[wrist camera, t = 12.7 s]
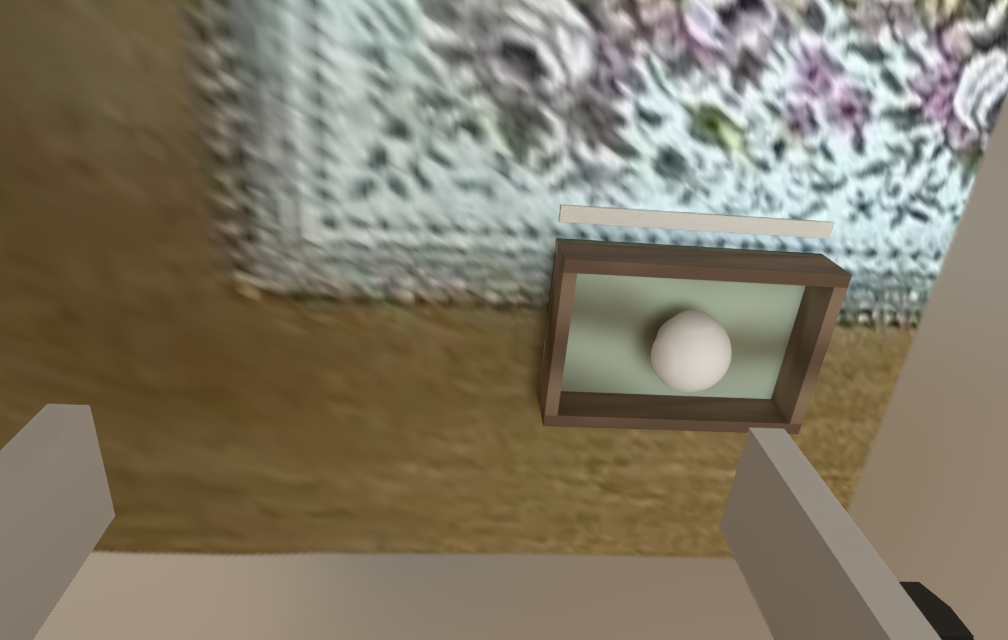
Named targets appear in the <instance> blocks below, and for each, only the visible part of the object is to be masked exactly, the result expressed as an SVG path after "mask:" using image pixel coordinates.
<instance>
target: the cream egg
mask: <svg viewBox="0 0 1008 640" xmlns="http://www.w3.org/2000/svg"><path fill="white" fill-rule="evenodd" d="M731 356H732V348H731V343H730V339H729V337H728V335H727V333H726V331H725V330H724V328H723V327H722V326H721V325H720V324H719V323H718V322H717V321H716V320H715V319H713V318H712V317H710V316H709V315H707V314H705V313H703V312H700V311H696V310H688V311H684V312H681V313H679V314H677V315H676V316H675V317H673V318H671V319H669V320H668V321H666V322H665V323H664V324H663V325H662V326H661V327H660V329H659V331H658V333H657V337H656V339H655V341H654V343H653V346H652V350H651V364H652V367H653V369H654V371H655V373H656V374H657V376H658V377H659V378H660V380H661V381H662V382H663V383H664V384H666V385H667V386H669V387H670V388H672V389H675V390H678V391H681V392H697V391H701V390H705V389H707V388H709V387H711V386H713V385H714V384H716V383H717V382H718V381H719V380H720V379H721V378H722V377H723V376H724V375H725V373H726V371H727V370H728V367H729V365H730V362H731Z"/></svg>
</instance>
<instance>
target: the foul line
mask: <svg viewBox="0 0 1008 640" xmlns="http://www.w3.org/2000/svg"><path fill="white" fill-rule="evenodd" d="M559 222H566V223H582V224H599V225H615V226H631V227H648V228H664V229H681V230H697V231H713V232H730V233H746V234H762V235H779V236H795V237H812V238H828V239H829V238H830V235H831V231H832V228H833V225H834V223H833V222H828V221H813V220H797V219H781V218H765V217H750V216H734V215H718V214H702V213H686V212H671V211H655V210H639V209H623V208H608V207H592V206H576V205H561V208H560V216H559Z"/></svg>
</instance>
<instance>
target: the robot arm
mask: <svg viewBox="0 0 1008 640" xmlns="http://www.w3.org/2000/svg"><path fill="white" fill-rule="evenodd" d="M114 516H115V513H114V508H113V504H112V500H111V495H110V491H109V487H108V482H107V478H106V474H105V469H104V465H103V461H102V456H101V452H100V448H99V443H98V439H97V434H96V430H95V426H94V421H93V417H92V413H91V408H90V405H70V404H47V405H46V406H45V407H44V408H43V409H42V410H41V411H40V412H39V413H38V414H37V415H36V416H35V417H34V418H33V419H32V420H31V421H30V422H29V423H28V424H27V425H26V426H25V427H24V428H23V429H22V430H21V431H20V432H19V433H18V434H17V435H16V436H15V437H13V438H12V439H11V440H10V441H9V442H8V443H7V444H6V445H5V446H4V447H3V448H2V449H1V450H0V640H33V639H34V637H35V636H36V634H37V633H38V631H39V630H40V628H41V627H42V625H43V624H44V622H45V621H46V619H47V618H48V616H49V615H50V613H51V612H52V610H53V609H54V607H55V605H56V604H57V603H58V601H59V600H60V598H61V596H62V595H63V593H64V592H65V591H66V589H67V587H68V586H69V584H70V583H71V581H72V580H73V578H74V577H75V575H76V574H77V572H78V571H79V569H80V568H81V566H82V565H83V563H84V562H85V560H86V559H87V557H88V556H89V554H90V553H91V551H92V550H93V548H94V547H95V545H96V544H97V542H98V541H99V539H100V538H101V536H102V535H103V533H104V532H105V530H106V529H107V527H108V526H109V524H110V523H111V521H112V520H113V518H114ZM720 529H721V531H722V533H723V535H724V537H725V539H726V541H727V544H728V546H729V548H730V550H731V552H732V554H733V556H734V558H735V560H736V562H737V564H738V566H739V568H740V570H741V572H742V574H743V576H744V578H745V581H746V582H747V585H748V586H749V589H750V591H751V593H752V595H753V597H754V599H755V601H756V603H757V605H758V607H759V609H760V611H761V613H762V615H763V618H764V619H765V622H766V624H767V626H768V628H769V630H770V632H771V634H772V636H773V638H774V640H974V639H973V637H974V636H973V635H972V634H971V632H970V631H969V630H968V629H967V628H966V626H965V625H964V624H963V622H962V621H961V620H960V619H959V618H958V616H957V615H956V614H955V612H954V611H953V610H952V609H951V607H949V606H948V605H947V604H946V603H944V602H943V601H942V600H940V598H938V597H937V596H936V595H935V594H933V593H932V592H931V591H929V590H928V589H927V588H926V587H925V586H923V585H922V584H921V583H920V582H898V581H897V579H896V578H895V576H894V575H893V574H892V572H891V571H890V570H889V569H888V567H887V566H886V564H885V563H884V562H883V560H882V559H881V558H880V556H879V555H878V554H877V552H876V551H875V550H874V548H873V547H872V546H871V544H870V543H869V542H868V541H867V539H866V538H865V537H864V535H863V534H862V532H861V531H860V530H859V528H858V527H857V526H856V524H855V523H854V521H853V520H852V519H851V518H850V516H849V515H848V513H847V512H846V511H845V509H844V508H843V507H842V505H841V504H840V503H839V501H838V500H837V499H836V497H835V496H834V495H833V493H832V492H831V491H830V489H829V488H828V487H827V485H826V484H825V483H824V481H823V480H822V479H821V477H820V476H819V475H818V473H817V472H816V471H815V469H814V468H813V466H812V465H811V464H810V462H809V461H808V460H807V458H806V457H805V456H804V454H803V453H802V452H801V450H800V449H799V448H798V446H797V445H796V444H795V442H794V441H793V440H792V438H791V437H790V436H789V434H788V433H787V432H786V430H785V429H780V428H751V427H749V430H748V433H747V437H746V440H745V443H744V447H743V450H742V454H741V457H740V460H739V464H738V467H737V470H736V474H735V477H734V481H733V484H732V487H731V491H730V494H729V498H728V501H727V504H726V508H725V511H724V514H723V518H722V521H721V525H720Z"/></svg>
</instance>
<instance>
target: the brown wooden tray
mask: <svg viewBox="0 0 1008 640" xmlns="http://www.w3.org/2000/svg"><path fill="white" fill-rule="evenodd" d="M851 276H852V275H851V274H849V273H848V272H846V271H845V270H844V269H842V268H841V267H839V266H838V265H837V264H835V263H834V262H833V261H831V260H830V259H828V258H827V257H826V256H824V255H823V254H814V253H796V252H779V251H762V250H745V249H728V248H711V247H694V246H677V245H660V244H643V243H626V242H609V241H592V240H575V239H558V238H557V240H556V249H555V257H554V265H553V273H552V281H551V289H550V298H549V306H548V314H547V322H546V330H545V338H544V346H543V355H542V363H541V371H540V379H539V387H538V395H537V396H538V401H539V406H540V411H541V416H542V422H543V426H563V427H593V428H623V429H653V430H684V431H714V432H744V433H748V430H749V427H751V428H780V429H785V430H786V432H787V433H788V434H799V431H800V428H801V425H802V422H803V419H804V416H805V413H806V410H807V407H808V404H809V401H810V398H811V395H812V392H813V389H814V386H815V383H816V380H817V377H818V374H819V371H820V368H821V365H822V362H823V359H824V356H825V353H826V351H827V348H828V345H829V342H830V339H831V336H832V333H833V330H834V327H835V324H836V321H837V318H838V315H839V312H840V309H841V306H842V303H843V300H844V297H845V294H846V291H847V288H848V285H849V282H850V279H851ZM688 310H696V311H700V312H703V313H705V314H707V315H709V316H710V317H712V318H713V319H715V320H716V321H717V322H718V323H719V324H720V325H721V326H722V327H723V328H724V330H725V331H726V333H727V335H728V337H729V339H730V343H731V348H732V356H731V362H730V365H729V367H728V370H727V371H726V373H725V375H724V376H723V377H722V378H721V379H720V380H719V381H718V382H717V383H716V384H714V385H713V386H711V387H709V388H707V389H705V390H701V391H697V392H681V391H678V390H675V389H672V388H670V387H669V386H667V385H666V384H664V383H663V382H662V381H661V380H660V378H659V377H658V376H657V374H656V373H655V371H654V369H653V367H652V364H651V350H652V346H653V343H654V341H655V339H656V337H657V333H658V331H659V329H660V327H661V326H662V325H663V324H664V323H665V322H666V321H668V320H669V319H671V318H673V317H675V316H676V315H677V314H679V313H681V312H684V311H688Z"/></svg>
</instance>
